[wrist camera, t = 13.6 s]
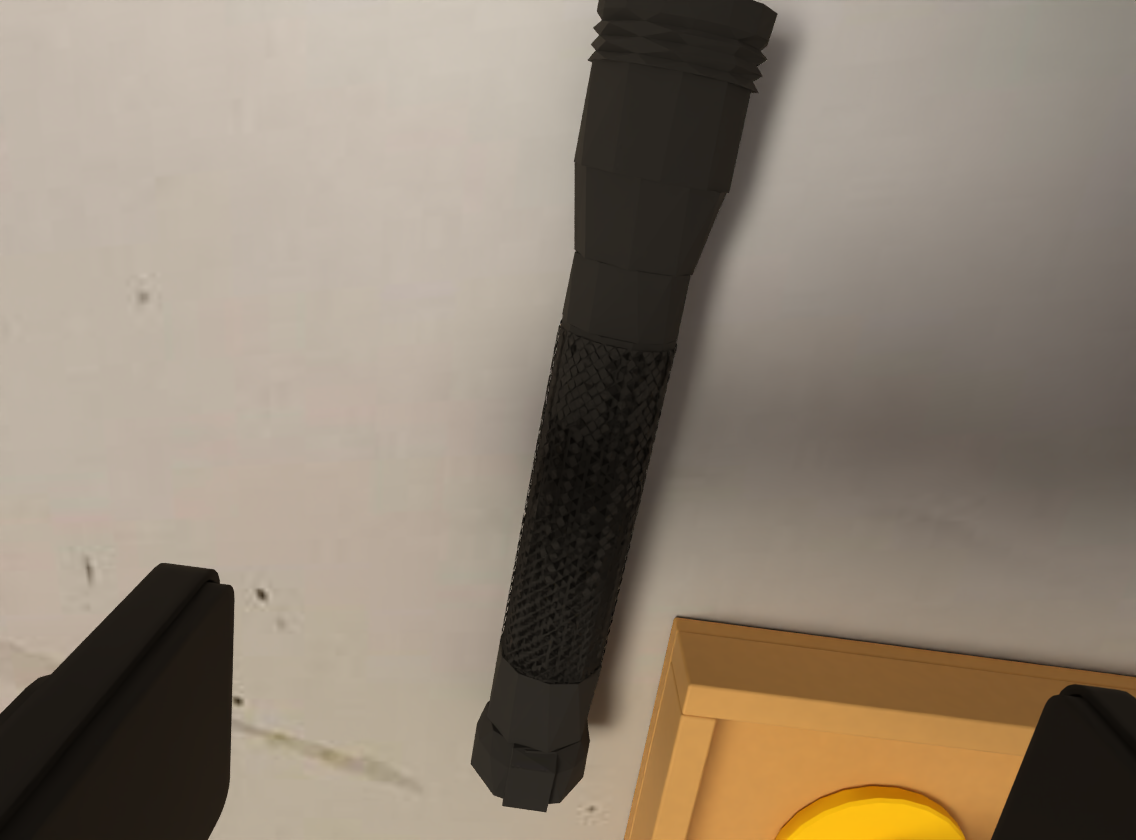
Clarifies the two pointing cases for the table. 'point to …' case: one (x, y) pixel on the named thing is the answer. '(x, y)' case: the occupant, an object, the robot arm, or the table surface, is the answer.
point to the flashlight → (613, 361)
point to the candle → (872, 817)
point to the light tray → (830, 729)
